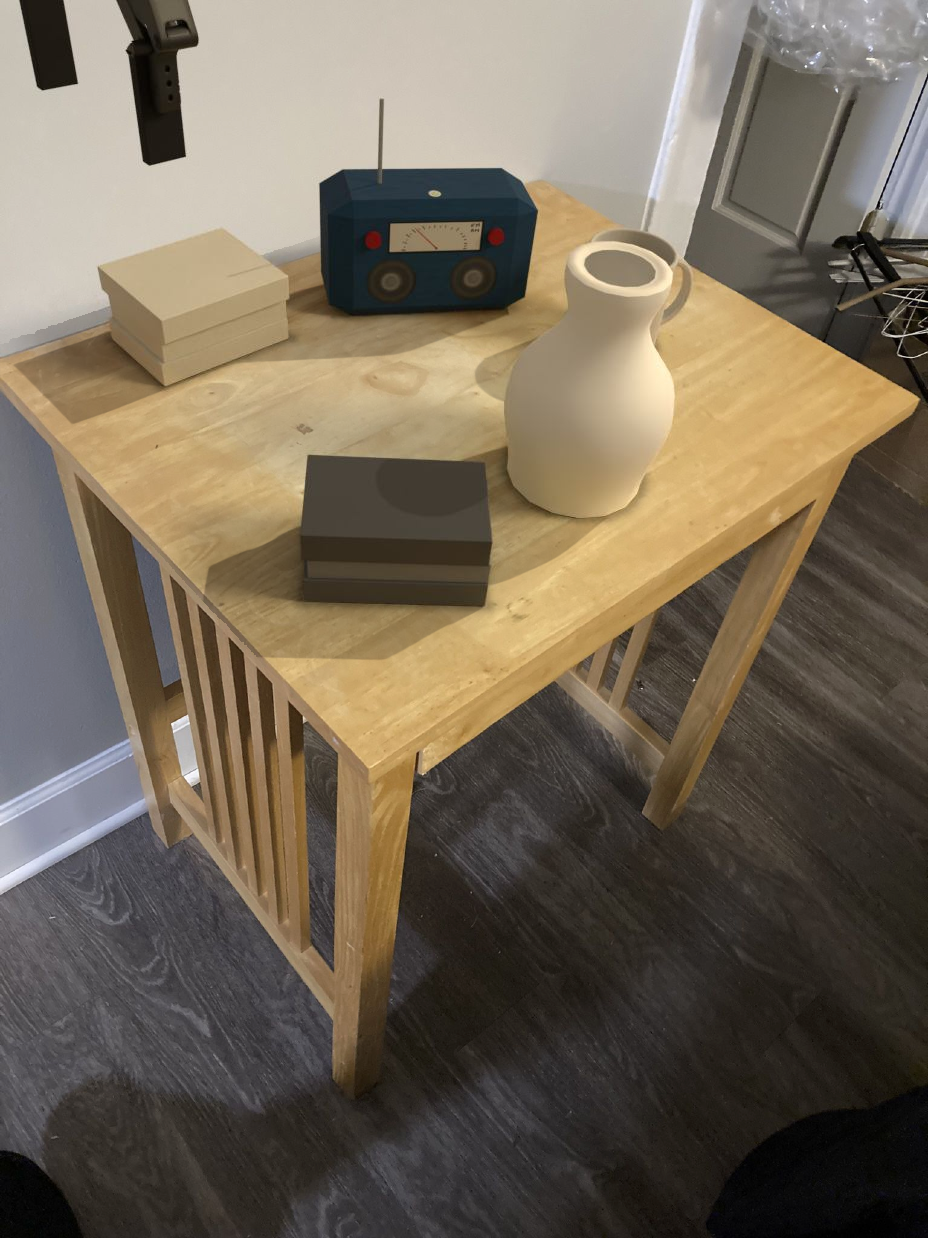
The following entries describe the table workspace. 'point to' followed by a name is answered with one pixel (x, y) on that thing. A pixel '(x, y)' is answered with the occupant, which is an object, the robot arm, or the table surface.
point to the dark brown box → (395, 531)
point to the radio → (424, 238)
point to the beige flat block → (193, 284)
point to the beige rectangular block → (197, 342)
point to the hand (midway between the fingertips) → (108, 121)
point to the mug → (665, 253)
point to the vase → (593, 387)
